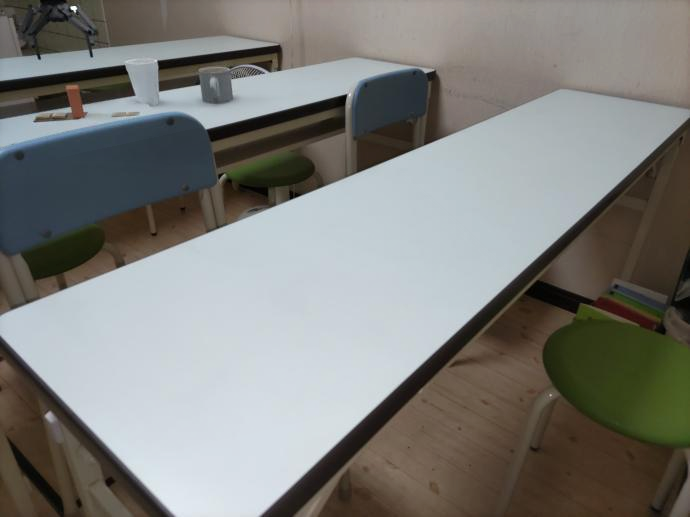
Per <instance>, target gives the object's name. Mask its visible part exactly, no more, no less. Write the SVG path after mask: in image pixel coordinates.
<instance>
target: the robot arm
mask: <svg viewBox="0 0 690 517" xmlns="http://www.w3.org/2000/svg"><path fill="white" fill-rule="evenodd" d="M38 4H39V5H38V6H33V4H31V3H28V4H27V12H26V13H25V15H24V18H23V20H22V23H21V25H20V27H19V29H18V31H19V33H20V36H21V37H22V38H23V39H24V38H27V39H28V42H29V47H30V48H31V49H35V54H36V57H37V60H38V61H42V56H41V52H40V48H39V43H38V39H37V35H38V34H40V32H41V31H42V30H43V28H44V27H45V26H47V25H48V24H50V22H51V23H65V22H66V23H68V24H69V25H71V26H73V27H75V28H76V29H77V30H79V31H80V32H81V33H82V34H84V36H85V40H86V43H87V44H86V45H87V48H88V53H89V57H90V58H91V59H92V58H94V54H93V49H92V47H95V45H96V44H95V39H94V37H95V36H99V28H98V27H97V25H96V24H95V23H94V22H93V21H92V20H91V19H90V17H89V16H88V15H87V14H86V13H85V12H84V11H83V10H82V7H81V5H80V3H76V4H75V6H70V5H69V1H68V0H38ZM38 13H39V14H40V15H39V17H38V18H37V19H36V20H35V22H34V19H35V16H37V15H38ZM72 13H74V14H75V15H76V16H78V18H79V19H80V20H81V21H80V20H79V19H78V18H76V17H75V16H74V15H73V14H72ZM33 22H34V23H33Z"/></svg>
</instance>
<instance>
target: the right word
mask: <svg viewBox="0 0 690 517" xmlns="http://www.w3.org/2000/svg"><path fill="white" fill-rule="evenodd" d="M98 116H101V113H97V114H96V117H98ZM135 116H136V117H138V116H140V111H122V112H121V111H120V112H119V111H117V112H112V114H111V118H121V117H135Z"/></svg>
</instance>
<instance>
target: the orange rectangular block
mask: <svg viewBox="0 0 690 517" xmlns="http://www.w3.org/2000/svg"><path fill="white" fill-rule="evenodd" d="M65 88H66V93H67V98H68V102H69V106H70V111H71V112H72V115H73V118H80V119H84V118H86V116H85V115H84V112H85V110H84V106H83V102H82V97H81V92H80V88H79V85H78V84H68V85H66V86H65Z"/></svg>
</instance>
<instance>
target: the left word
mask: <svg viewBox="0 0 690 517" xmlns="http://www.w3.org/2000/svg"><path fill="white" fill-rule="evenodd" d="M88 113H89V112H88V111H84V115H85V117H86V116H87V114H88ZM80 119H81V118H73V115H72V111H71V112H45V113H41V112H40V113H37V114H36V116H35V118H34V120H33V123H47V122H63V121H79V120H80Z"/></svg>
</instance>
